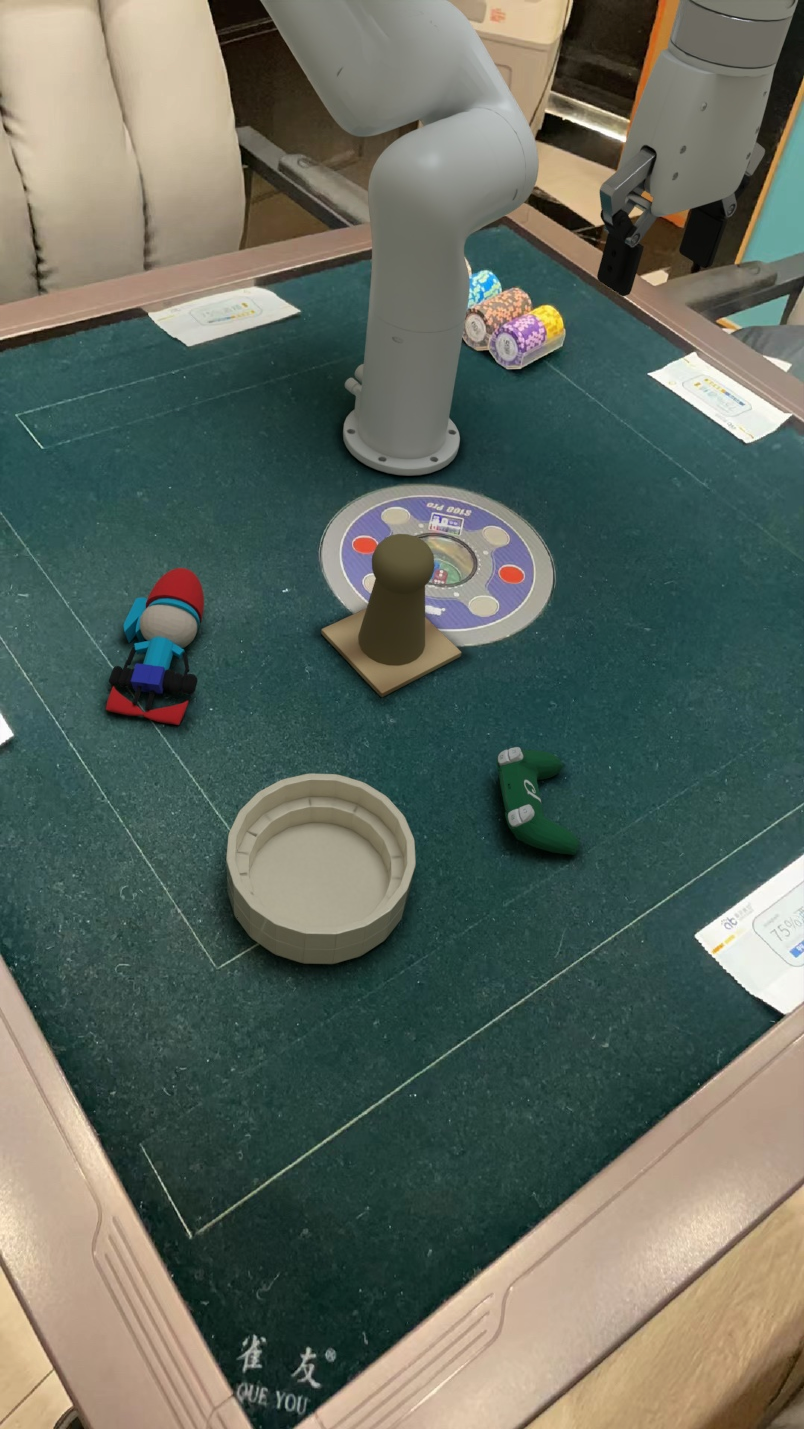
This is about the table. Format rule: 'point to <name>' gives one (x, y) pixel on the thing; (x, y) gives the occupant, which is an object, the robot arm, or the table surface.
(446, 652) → the coaster
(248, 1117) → the table surface
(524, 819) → the gaming controller
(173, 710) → the toy figure
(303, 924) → the bowl
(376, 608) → the olive brown pawn
